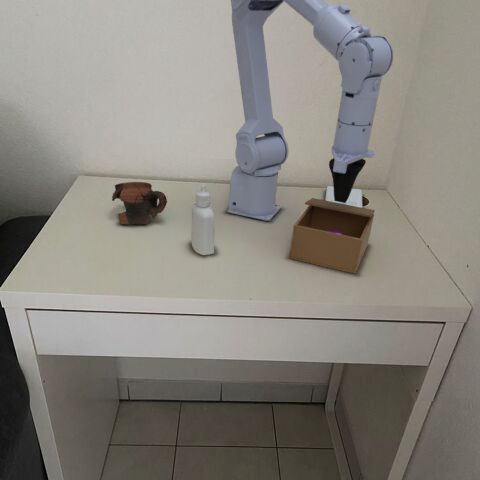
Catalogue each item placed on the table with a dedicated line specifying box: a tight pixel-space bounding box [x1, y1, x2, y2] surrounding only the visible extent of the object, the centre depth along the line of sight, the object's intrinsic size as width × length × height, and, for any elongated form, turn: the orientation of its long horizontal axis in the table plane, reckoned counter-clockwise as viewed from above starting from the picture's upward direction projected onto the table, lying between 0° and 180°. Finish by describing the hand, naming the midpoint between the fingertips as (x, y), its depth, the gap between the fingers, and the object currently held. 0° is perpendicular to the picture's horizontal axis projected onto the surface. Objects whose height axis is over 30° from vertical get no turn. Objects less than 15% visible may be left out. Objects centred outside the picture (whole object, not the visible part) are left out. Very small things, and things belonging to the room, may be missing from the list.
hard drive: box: [324, 185, 363, 208], centre depth 112 cm, size 2×8×12 cm
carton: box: [289, 205, 375, 275], centre depth 90 cm, size 12×12×6 cm
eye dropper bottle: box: [190, 184, 216, 256], centre depth 87 cm, size 4×6×12 cm
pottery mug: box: [111, 181, 168, 225], centre depth 99 cm, size 12×10×8 cm
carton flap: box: [304, 197, 376, 217], centre depth 90 cm, size 6×12×1 cm, turn 68°
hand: (340, 200), depth 88 cm, fingers closed
